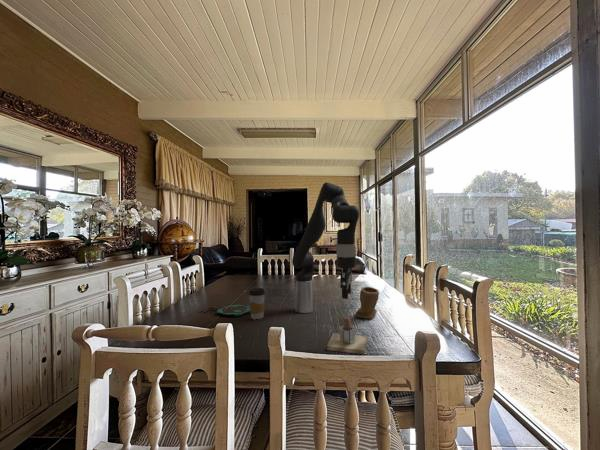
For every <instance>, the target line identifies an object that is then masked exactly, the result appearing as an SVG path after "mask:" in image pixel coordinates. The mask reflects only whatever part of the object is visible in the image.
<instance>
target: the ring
mask: <svg viewBox="0 0 600 450" xmlns="http://www.w3.org/2000/svg"><path fill="white" fill-rule="evenodd" d="M339 334H340V342H342V343H344V344H352V343H355V335H356V327H354V326H352V325H350V330H345V329H344V325H340V327H339Z"/></svg>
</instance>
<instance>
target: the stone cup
mask: <svg viewBox="0 0 600 450" xmlns="http://www.w3.org/2000/svg"><path fill="white" fill-rule="evenodd" d="M379 295H380V293H379V290H378V289H376V288H374V287H371V286H365V287H362V288H361V289H360V293H359V302H360V307H359V308H358V309H357V310H356V312H355V317H357V318H360V319H361V318H362V319H373V318H374V317H375V316H376V314H377V312H378V310H377V309H376V305H377V303H378V300H379Z"/></svg>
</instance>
